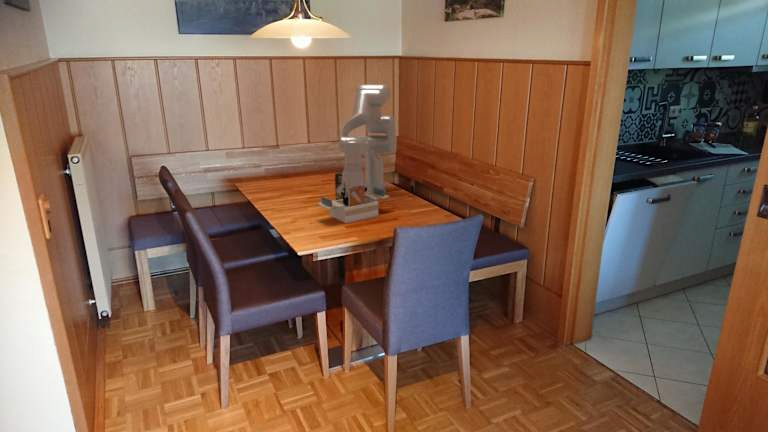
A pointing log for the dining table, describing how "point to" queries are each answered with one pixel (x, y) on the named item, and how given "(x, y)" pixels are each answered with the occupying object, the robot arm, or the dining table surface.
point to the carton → (355, 211)
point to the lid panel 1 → (329, 204)
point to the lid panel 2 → (376, 194)
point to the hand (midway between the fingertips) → (353, 203)
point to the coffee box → (338, 185)
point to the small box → (355, 196)
